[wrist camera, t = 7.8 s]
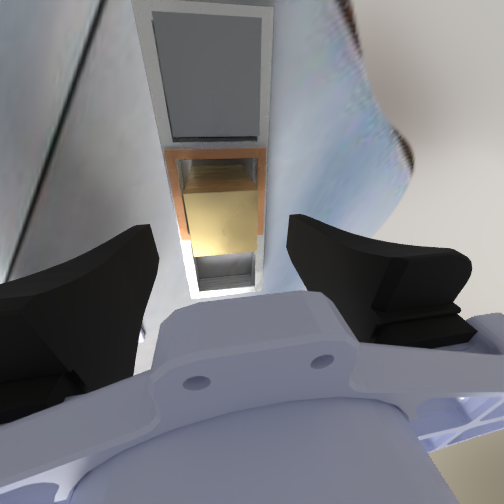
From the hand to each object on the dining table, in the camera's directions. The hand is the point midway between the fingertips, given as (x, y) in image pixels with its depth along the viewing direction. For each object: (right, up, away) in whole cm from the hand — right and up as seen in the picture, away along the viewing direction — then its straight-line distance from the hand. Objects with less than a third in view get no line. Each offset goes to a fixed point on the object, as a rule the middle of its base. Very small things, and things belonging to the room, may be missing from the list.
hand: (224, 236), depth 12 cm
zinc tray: (-1, +4, +6) cm, 8 cm away
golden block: (-1, +4, +7) cm, 8 cm away
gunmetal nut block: (-1, +10, +3) cm, 10 cm away
